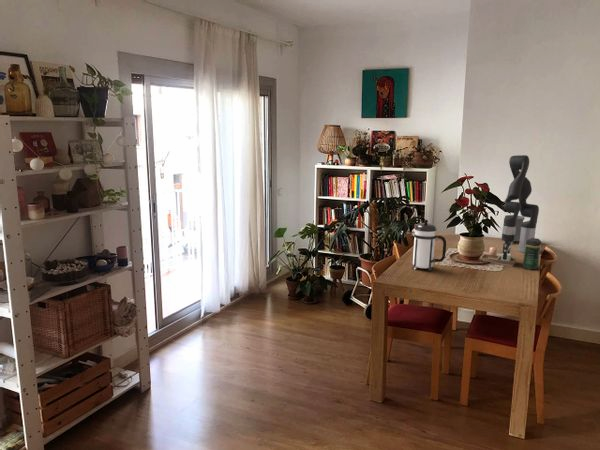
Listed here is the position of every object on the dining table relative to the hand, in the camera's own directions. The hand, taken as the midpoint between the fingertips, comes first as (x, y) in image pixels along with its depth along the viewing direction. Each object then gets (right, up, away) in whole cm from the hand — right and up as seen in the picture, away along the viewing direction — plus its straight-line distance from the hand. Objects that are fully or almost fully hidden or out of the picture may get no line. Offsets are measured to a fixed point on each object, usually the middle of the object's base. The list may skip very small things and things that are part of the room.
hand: (505, 258), depth 306 cm
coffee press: (-55, -5, -14) cm, 57 cm away
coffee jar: (+11, -6, -9) cm, 15 cm away
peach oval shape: (-2, 0, +16) cm, 16 cm away
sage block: (0, -3, +1) cm, 3 cm away
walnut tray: (-4, -3, +3) cm, 6 cm away
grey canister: (+30, +8, +59) cm, 66 cm away
